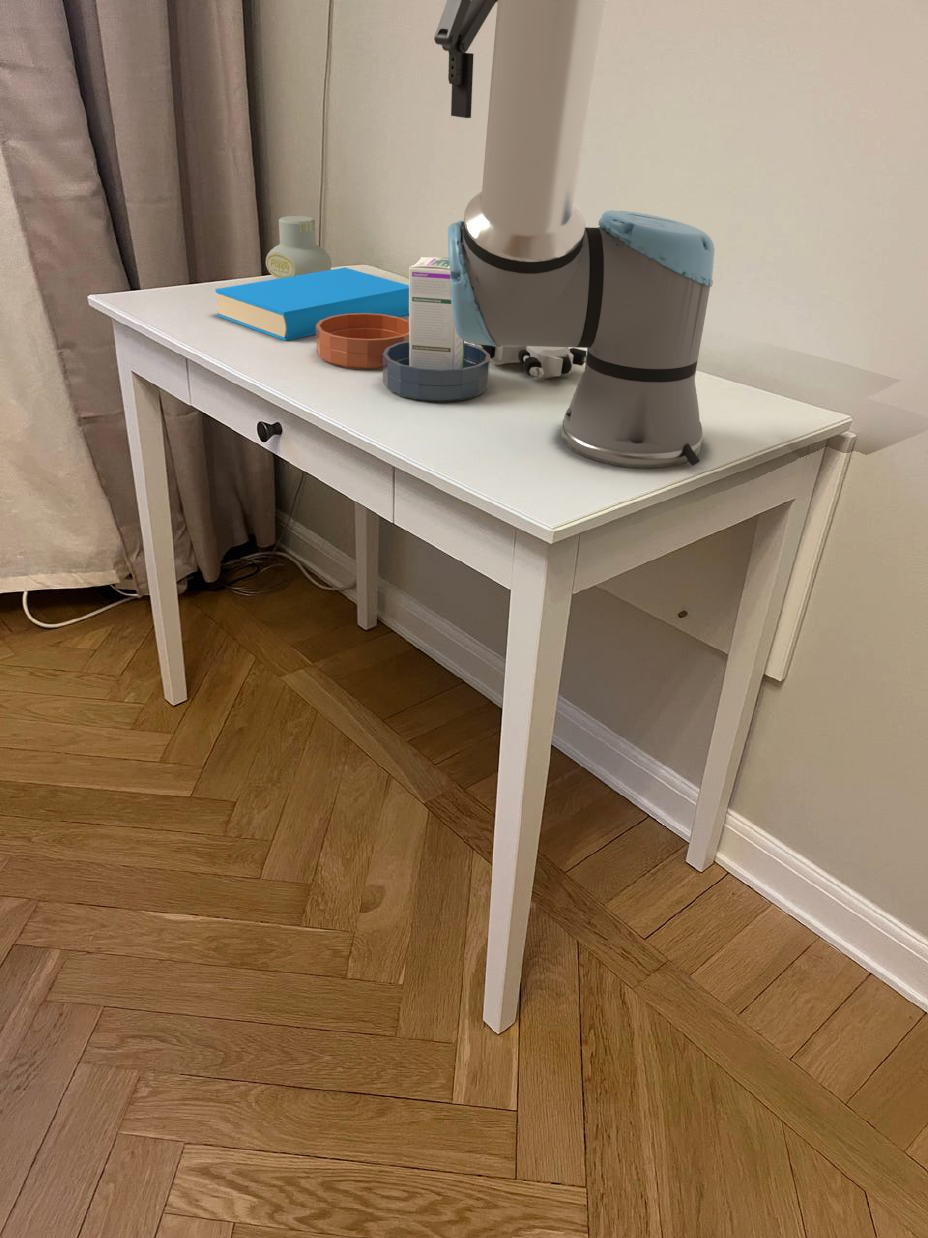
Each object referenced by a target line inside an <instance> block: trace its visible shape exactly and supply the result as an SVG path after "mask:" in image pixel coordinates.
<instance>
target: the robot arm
mask: <svg viewBox="0 0 928 1238" xmlns="http://www.w3.org/2000/svg"><path fill="white" fill-rule="evenodd" d="M608 2H609V0H446V2H445V6H444V8H443V11H442V13H441V17H440V20H439V22H438V25H437V28H436V31H435V33H434V37H433V38H434V43H435V44H436V45H440V46H441V48H442V50H443V51H445V52H448V71H447V72H448V74H447V75H448V77H447V79H448V83H449V84H450V85H451V102H450V116H451V117H456V118H463V119H472V101H473V81H474V80H473V77H474V55H475V54H474V53H471V52H468V50H469V49H470V46H471V45H472V43H473V42H474V40H475V38H476V36H477V35H478V33H479V32H480V30H481V28H482V26H483V25H484V23H485V21H486V20H487V18H488V17H489V14H490V13H491V11H492V9H493V8H494V6H495V4H496V3H497V4H496V15H495V27H494V40H493V53H492V67H491V76H490V77H491V78H490V91H489V101H488V113H487V126H486V136H485V137H486V139H485V150H484V163H483V173H482V175H483V176H482V186H481V191H480V192H479V193H477V194H475V195H474V196H473V197H472V198H471V199H470V200H469V202H468V203H467V205H466V207H465V209H464V215H463V220H459V221H457V222H451V224H449V226H448V228H447V248H448V249H447V251H448V258H449V267H450V278H451V294H452V305H453V315H454V323H455V329H456V332H457V334H458V335H459V337H460V338H461V339H462V340H464V343H468V344H472V345H474V344H480V345H490V346H493V347H501V346H541V347H568V348H576V349H580V348H581V349H587V350H586V351H587V352H586V356H587V357H586V363H585V366H584V369H583V370H584V371H583V372H582V375H581V377H580V380H579V382H578V384H577V386H576V389H575V391H574V393H573V396H572V398H571V401H570V403H569V406H568V408H567V409H566V412H565V414H564V416H563V420H562V427H561V439H562V442H563V443H564V444H565V445H566V446H567V447H568V448H569V449H570V450H572V451H573V452H575V453H577V454H578V455H581V456H583V457H585V458H588V459H591V460H593V461H596V462H597V461H598V462H601V463H605V464H608V465H609V464H610V465H613V466H614V465H615V466H622V467H630V468H648V469H649V468H665V467H673V466H677V465H682V464H684V463H687V462H688V463H689V464H690V465H691V466H693V467H694V466H695V465H697V464H698V463H699V462H700V459H699V457H698V455H699V454H700V451H701V447H702V442H703V426H702V423H701V420H700V410H699V401H698V394H697V388H696V387H697V386H696V373H697V366H698V361H699V355H700V349H701V343H702V337H703V332H704V327H705V326H704V325H705V319H706V314H707V308H708V302H709V296H710V290H711V287H712V286H713V284H714V281H713V274H714V262H715V244H714V241H713V240H712V237H710V236H709V234H708V233H706V232H705V231H703V230H702V229H700V228H697V227H696V226H692V225H690V224H687V223H683V222H680V221H678V220H673V219H670V218H665V217H662V216H657V215H652V214H649V213H648V214H647V213H641V212H635V211H627V210H606V211H604V212H603V213H602V215H601V217H600V218H599V220H598V227H590V226H589V227H586V219H585V216H584V214H583V212H582V210H581V208H580V207H579V206H578V204H576V203H575V198H576V192H577V185H578V179H579V173H580V168H581V162H582V155H583V150H584V143H585V139H586V131H587V125H588V120H589V114H590V108H591V101H592V97H593V89H594V86H595V78H596V72H597V68H598V61H599V54H600V49H601V42H602V37H603V32H604V26H605V18H606V14H607V8H608Z"/></svg>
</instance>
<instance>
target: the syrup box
mask: <svg viewBox="0 0 928 1238" xmlns="http://www.w3.org/2000/svg"><path fill="white" fill-rule="evenodd" d="M408 285H409V314H408V321H409V366H412V367H417V368H423V369H438V370H446V369H462V368H463V364H464V343H465V341H464V340H462V339H461V338H460V337H459V335H458V334H457V332H456V329H455V323H454V315H453V305H452V294H451V278H450V267H449V257H445V256H421V257H420V258H419V259H418V260H417V261H416V262H414V263H413V264H412V265H411V266H410V267H409V268H408Z"/></svg>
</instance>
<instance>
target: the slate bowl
mask: <svg viewBox="0 0 928 1238" xmlns="http://www.w3.org/2000/svg"><path fill="white" fill-rule="evenodd" d="M490 365H491V362H490V354H489V353H487V352H486V351H485V350H484V349H482V348H480V347H477V346H475V345H474V344H471V343H467V342H464V364H463V368H462V369H446V370H438V369H423V368H417V367H412V366H409V341H406V342H400V343H396V344H394V345H392V346H389V347H387V348H386V349H385V351H384V353H383V369H382V383H383V385H385V388H386V389H387V390H389V391H391V392H393V393H394V394H397V395H399V396H401V397H404V398H407V399H411V400H417V401H422V402H436V403H440V402H441V403H445V402H447V403H448V402H459V401H464V400H467V399H472V398H474V397H477V396H478V395H480V394H482V393H484V392H485V391H488V388H489V383H490Z"/></svg>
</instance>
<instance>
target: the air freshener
mask: <svg viewBox="0 0 928 1238" xmlns="http://www.w3.org/2000/svg"><path fill="white" fill-rule="evenodd" d="M278 219H279V220H278V232H279V244H277V245H276V246H274V247H272V249H270V250H269V252H268V253H267V254H266V257H265V266H266V269H267V271H268V272H269V273H270V275H271V276H272V277H274V279H279V278H285V277H291V276H297V275H303V274H309V273H315V272H321V271H327V270H332V257H331V256H330V255H329V253H328V252H327V251H326V250H325V248H322V246H319V244H318V245H317V244H316V243H317V242H316V221H315V219H314V218H313V217H310V216H305V215H287V216H282V217H280V218H278Z"/></svg>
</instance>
